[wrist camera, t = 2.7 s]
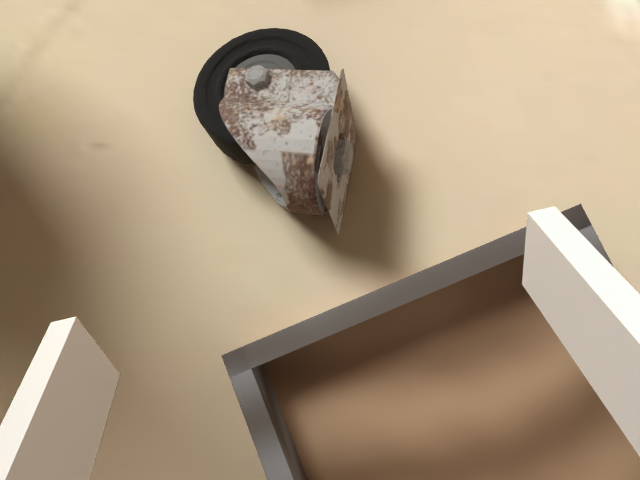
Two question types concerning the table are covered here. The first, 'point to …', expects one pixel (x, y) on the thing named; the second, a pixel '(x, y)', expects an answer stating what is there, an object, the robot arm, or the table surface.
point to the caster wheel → (282, 118)
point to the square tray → (431, 384)
